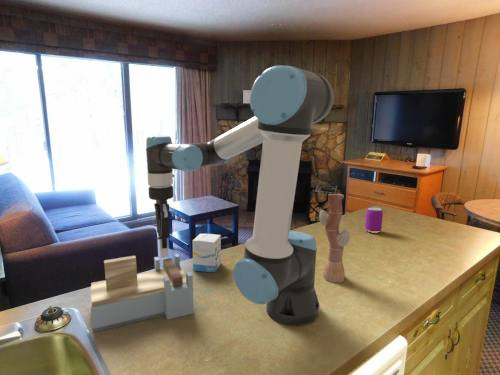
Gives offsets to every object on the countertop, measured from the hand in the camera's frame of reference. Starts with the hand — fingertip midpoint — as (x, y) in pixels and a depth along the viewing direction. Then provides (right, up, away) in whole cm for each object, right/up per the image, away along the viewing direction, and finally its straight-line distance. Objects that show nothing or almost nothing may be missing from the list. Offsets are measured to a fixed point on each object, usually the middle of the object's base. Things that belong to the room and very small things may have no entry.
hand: (164, 256), depth 107 cm
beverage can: (+90, 0, +57) cm, 106 cm away
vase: (+57, -9, +8) cm, 58 cm away
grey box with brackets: (-3, -13, -13) cm, 18 cm away
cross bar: (+5, -4, -10) cm, 12 cm away
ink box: (+12, -7, +15) cm, 21 cm away
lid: (-3, -6, -14) cm, 15 cm away
